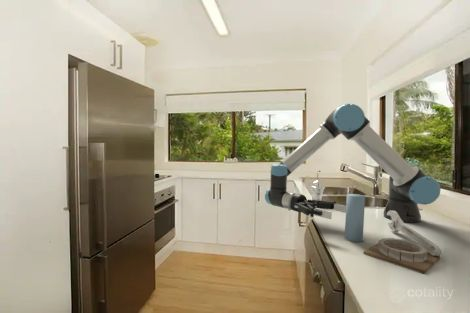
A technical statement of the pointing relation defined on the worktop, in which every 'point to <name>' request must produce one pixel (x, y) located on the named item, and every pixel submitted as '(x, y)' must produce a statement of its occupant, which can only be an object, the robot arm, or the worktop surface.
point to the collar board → (403, 263)
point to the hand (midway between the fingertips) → (340, 212)
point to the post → (354, 217)
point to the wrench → (412, 234)
